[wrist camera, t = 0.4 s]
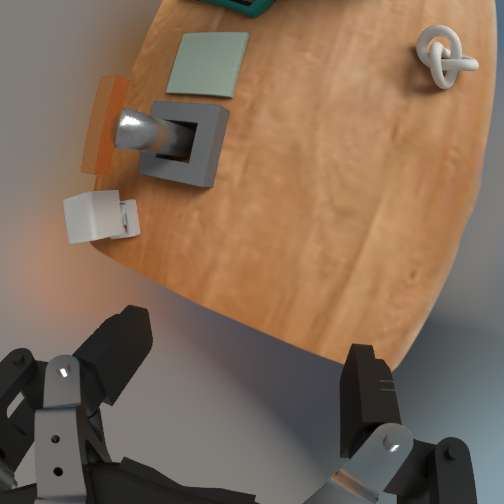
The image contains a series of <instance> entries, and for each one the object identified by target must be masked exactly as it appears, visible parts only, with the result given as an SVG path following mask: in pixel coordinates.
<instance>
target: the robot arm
mask: <svg viewBox="0 0 504 504" xmlns="http://www.w3.org/2000/svg"><path fill="white" fill-rule="evenodd" d="M152 343H153V337H152V331H151V325H150V319H149V313H148V310H147V309H145V308H142V307H137V306H133V305H128V306H127V307H126V308H125V309H124V310H123V311H122V312H121V313H120V314H115V315H113V316H112V317H110V318H108V319H106V320H105V321H104V323H102V324H101V325H100V326H99V328H97V329H96V331H95V332H94V334H92V335H91V336H90V337H89V338H88V339H87V340H86V341H85V342H84V343H83V344H82V345H81V346H80V347H79V348H78V349H77V350H76V352H75V353H74V354H73V355H72V356H71V355H60V356H57V357H55V358H53V359H52V360H51V361H50V362H43V361H37V360H35V359H34V357H33V355H32V353H31V351H30V350H28V349H26V348H19V349H15V350H13V351H12V352H10V353H9V354H8V355H7V356H6V357H5V358H4V359H3V360H2V361H1V362H0V504H259V503H257V502H255V497H256V495H252V494H246V493H241V492H236V491H231V490H226V489H222V488H200V487H186V486H182V485H180V484H178V483H176V482H175V481H173V480H171V479H170V478H168V477H166V476H165V475H163V474H161V473H160V472H158V471H157V470H155V469H154V468H151V467H149V466H146V465H143V464H141V463H139V462H136V461H134V460H131V459H129V458H126V457H124V458H123V460H122V461H121V463H117V462H112V460H111V458H110V455H109V453H108V450H107V447H106V442H105V437H104V431H103V425H102V418H101V412H100V408H99V406H100V404H101V403H102V402H104V403H106V404H109V405H111V406H113V404H114V403H115V401H116V400H117V398H118V397H119V395H120V394H121V392H122V391H123V390H124V388H125V387H126V385H127V384H128V382H129V381H130V379H131V378H132V377H133V375H134V374H135V372H136V371H137V369H138V367H139V366H140V365H141V364H142V362H143V361H144V359H145V357H146V356H147V355H148V353H149V352H150V350H151V347H152ZM392 381H393V379H392V375H391V370H390V368H389V367H388V365H387V364H386V363H385V361H384V360H383V359H375V355H374V350H373V346H372V345H364V344H352V345H351V348H350V350H349V353H348V356H347V359H346V362H345V365H344V368H343V371H342V374H341V378H340V458H349V461H348V462H347V463H346V464H345V466H343V467H342V469H341V470H340V471H339V472H337V473H335V474H334V475H333V476H332V477H331V478H330V479H329V480H328V481H327V482H326V483H325V484H324V485H323V486H322V487H321V488H319V489H318V490H317V491H316V492H315V493H314V494H313V495H312V496H311V497H310V498H309V499H307V500H306V501H305V502H304V503H303V504H376V503H377V501H378V497H379V495H380V494H381V493H382V492H386V493H391V494H396V495H397V504H477V496H476V488H475V480H474V474H473V468H472V462H471V457H470V452H469V449H468V447H467V445H466V444H465V443H464V442H463V441H462V440H460V439H458V438H454V437H448V438H445V439H443V440H441V441H440V442H439V443H438V444H437V445H435V444H430V443H425V442H422V441H418V440H415V439H413V437H412V435H411V433H410V432H409V430H408V429H407V428H405V427H404V426H402V424H401V419H400V413H399V408H398V403H397V398H396V393H395V391H394V389H395V388H394V384H393V382H392ZM19 392H21V394H22V395H23V397H24V399H23V401H22V402H21V403H20V404H19V406H18V407H17V408H16V410H15V411H14V412H13V414H12V415H11V416H10V418H8V417H7V408H8V406H9V405H10V404H11V402H12V401H13V400H14V399H15V397H16V396H17V395H18V394H19ZM34 441H35V468H36V482H37V483H34V484H30V485H26V486H23V487H19V488H17V486H18V484H17V481H16V480H15V479H14V477H15V476H14V472H15V471H16V469H17V467H18V466H19V464H20V462H21V461H22V459H23V457H24V456H25V454H26V453H27V451H28V450H29V448H30V447H31V445H32V444H33V442H34Z"/></svg>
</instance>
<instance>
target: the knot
mask: <svg viewBox="0 0 504 504" xmlns="http://www.w3.org/2000/svg"><path fill="white" fill-rule="evenodd" d="M436 36H445V37H446V38H447V39H448V40H449V42H450V46H451V51H450V50H448V49H446V48H444V47H443V45H442V44H441V43H439V42H434V43H432V44H431V46H430V50H429V55H428V53H427V46H428V44H429V42H430V41H431V40H432V39H433V38H434V37H436ZM416 51H417V55H418V57H419V59H420V60H421V62H422V63H423V64H425V65H426V66H428V67H429V68H430V70H431V74H432V77H433V79H434V82H435V83H436V85H437V86H438V87H440V88H441V89H448V88H450V87H451V86H452V85H453V83H454V82H455V79H456V77H457V74H458V71H476V70H477V69H478V68H479V64H478V62H477V61H476V60H475V59H473V58H471V57H468V56H465V55H462V48H461V43H460V40H459V38H458V36H457V35H456V34H455V32H454V31H453V30H451V29H450V28H448V27H446V26H443V25H433V26H430V27H428V28H426V29H425V30H424V31H423V32H422V33H421V34H420V36H419V38H418V40H417V44H416ZM441 57H443V58H446V59H441ZM442 70H447V72H446V74H445V76H443V73H442Z"/></svg>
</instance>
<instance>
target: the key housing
mask: <svg viewBox="0 0 504 504" xmlns="http://www.w3.org/2000/svg"><path fill="white" fill-rule="evenodd" d="M229 113H230V111H229V110H227V109H226V108H224V107H222V106H220V105H210V104H199V103H185V102H166V101H153V104H152V108H151V112H150V116H153V117H156V118H160V119H163V120H166V121H169V122H172V123H177V124H187V125H196V126H197V129H196V134H195V138H194V142H193V147H192V152H191V156H190V161H189V163H187V162H181V161H175V160H169V159H168V155H165V154H158V153H151V152H144V151H142V153H141V158H140V164H139V169H138V174H143V175H148V176H153V177H158V178H163V179H168V180H173V181H177V182H182V183H187V184H191V185H196V186H200V187H213V184H214V179H215V175H216V170H217V165H218V161H219V156H220V152H221V147H222V143H223V139H224V134H225V130H226V126H227V122H228V117H229Z"/></svg>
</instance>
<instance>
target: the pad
mask: <svg viewBox="0 0 504 504" xmlns="http://www.w3.org/2000/svg"><path fill="white" fill-rule="evenodd" d="M248 39H249V33H248V32H201V33H184V35H183V38H182V41H181V44H180V47H179V50H178V53H177V56H176V59H175V62H174V66H173V69H172V72H171V76H170V79H169V83H168V86H167V90H166V93H168V94H190V95H205V96H218V97H228V98H233V94H234V90H235V86H236V83H237V79H238V75H239V71H240V68H241V64H242V60H243V57H244V53H245V49H246V46H247V42H248Z"/></svg>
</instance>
